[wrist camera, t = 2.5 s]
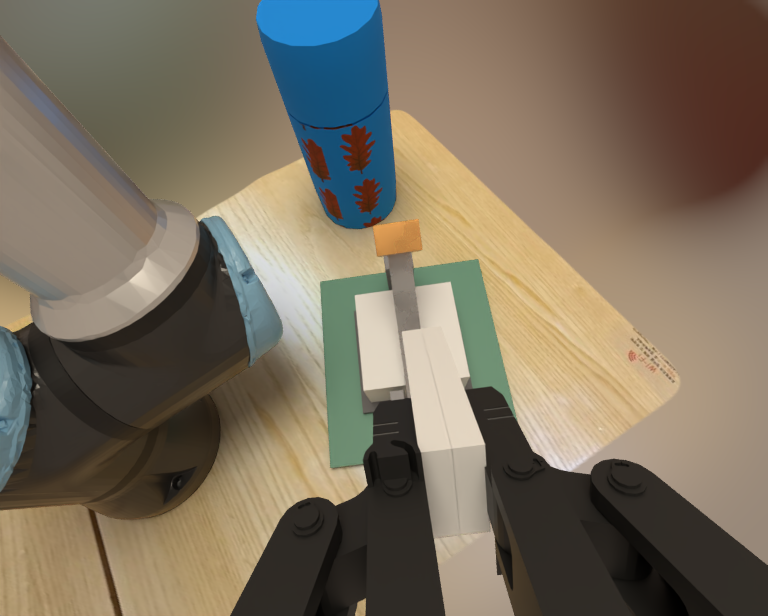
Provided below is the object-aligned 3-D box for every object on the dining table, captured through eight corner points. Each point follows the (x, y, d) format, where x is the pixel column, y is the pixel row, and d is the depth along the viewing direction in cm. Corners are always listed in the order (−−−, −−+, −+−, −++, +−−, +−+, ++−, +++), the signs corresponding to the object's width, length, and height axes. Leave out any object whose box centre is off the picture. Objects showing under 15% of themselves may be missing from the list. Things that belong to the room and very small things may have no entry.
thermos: (409, 213, 55) (400, 20, 32) (336, 241, 54) (273, 64, 31) (380, 158, 59) (353, -46, 36) (312, 183, 58) (241, -9, 35)
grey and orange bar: (400, 409, 37) (401, 425, 33) (374, 229, 35) (372, 225, 31) (439, 404, 37) (444, 420, 33) (415, 223, 35) (418, 219, 31)
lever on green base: (332, 468, 42) (304, 464, 32) (322, 285, 51) (297, 237, 41) (520, 444, 42) (551, 433, 32) (477, 263, 51) (490, 209, 41)
